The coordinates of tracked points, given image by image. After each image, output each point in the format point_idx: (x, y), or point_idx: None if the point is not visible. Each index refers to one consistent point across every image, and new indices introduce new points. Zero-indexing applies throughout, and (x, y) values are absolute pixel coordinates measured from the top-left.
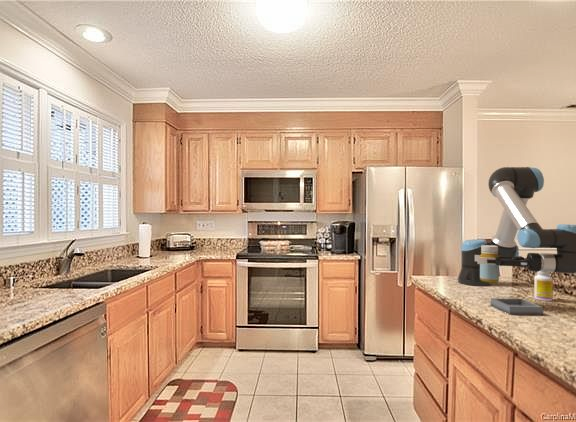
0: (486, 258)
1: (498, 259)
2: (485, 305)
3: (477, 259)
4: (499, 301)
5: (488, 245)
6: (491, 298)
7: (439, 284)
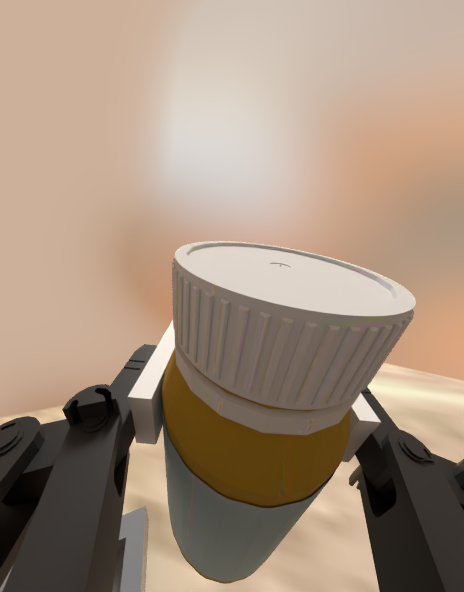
0: (165, 338)
1: (73, 428)
2: (154, 488)
3: None
4: None
5: (367, 275)
6: (143, 510)
7: (392, 386)
